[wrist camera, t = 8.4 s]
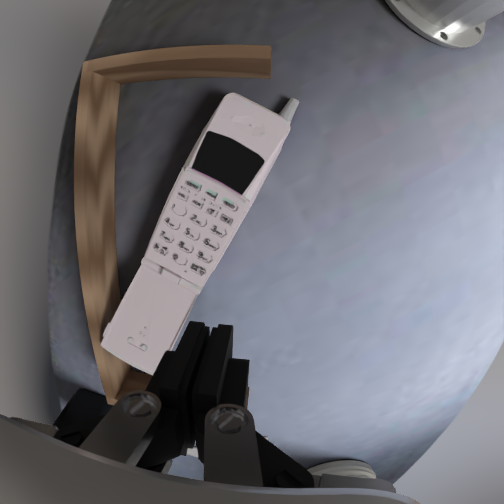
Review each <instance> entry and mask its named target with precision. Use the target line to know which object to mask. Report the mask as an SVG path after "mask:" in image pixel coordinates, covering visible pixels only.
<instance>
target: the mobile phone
mask: <svg viewBox="0 0 504 504" xmlns="http://www.w3.org/2000/svg"><path fill="white" fill-rule="evenodd" d="M298 104H299V101H298V100H296V99H295V98H292V97H291V98H290V100H289V101H288V103H287V104H286V105H285V107H284V108H283V109H282V111H281V112H280V113H279V114H276V113H274V112H272V111H271V110H269V109H267V108H265V107H263V106H261V105H259V104H257V103H255V102H253V101H251V100H249V99H247V98H245V97H243V96H241V95H239V94H237V93H229V94H227V95H226V96H225V97H224V98H223V100H222V101H221V103H220V104H219V106H218V107H217V109H216V110H215V112H214V114H213V115H212V117H211V119H210V120H209V122H208V123H207V125H206V126H205V127H204V129H203V130H202V132H201V135H200V137H199V139H198V140H197V142H196V144H195V146H194V147H193V149H192V151H191V153H190V155H189V157H188V158H187V160H186V162H185V164H184V166H183V168H182V170H181V172H180V174H179V176H178V178H177V180H176V182H175V184H174V186H173V188H172V190H171V192H170V194H169V196H168V199H167V201H166V203H165V206H164V208H163V210H162V213H161V215H160V218H159V220H158V222H157V225H156V227H155V230H154V232H153V235H152V237H151V240H150V242H149V245H148V247H147V250H146V253H145V255H144V258H143V259H142V261H141V266H140V268H139V270H138V272H137V273H136V275H135V277H134V279H133V281H132V283H131V284H130V286H129V288H128V290H127V292H126V294H125V296H124V298H123V299H122V301H121V303H120V305H119V307H118V309H117V311H116V313H115V315H114V317H113V319H112V320H111V323H108V325H107V327H106V329H105V331H104V333H103V337H104V338H103V340H102V343H101V346H102V347H103V348H104V349H106V350H107V351H109V352H110V353H112V354H113V355H115V356H116V357H118V358H119V359H121V360H123V361H124V362H126V363H128V364H130V365H131V366H133V367H135V368H137V369H139V370H142V371H144V372H146V373H148V374H150V375H153V374H154V372H155V370H156V368H157V366H158V364H159V362H160V360H161V358H162V356H163V355H164V353H165V351H167V350H169V351H172V349H173V346H174V344H175V342H176V340H177V338H178V336H179V334H180V332H181V330H182V327H183V325H184V323H185V321H186V319H187V317H188V315H189V313H190V311H191V309H192V307H193V305H194V303H193V302H195V301H194V300H196V299H195V298H197V297H196V296H198V295H199V294H200V292H201V291H202V288H203V287H204V285H205V283H206V281H207V280H208V278H209V276H210V275H211V273H212V272H213V271H214V269H215V268H216V266H217V264H218V263H219V261H220V259H221V258H222V256H223V254H224V252H225V251H226V249H227V247H228V246H229V244H230V242H231V240H232V239H233V237H234V235H235V233H236V232H237V230H238V228H239V226H240V225H241V223H242V221H243V219H244V218H245V216H246V214H247V212H248V211H249V209H250V207H251V205H252V204H253V202H254V200H255V198H256V196H257V194H258V192H259V190H260V188H261V187H262V185H263V183H264V181H265V179H266V177H267V175H268V173H269V171H270V170H271V168H272V166H273V164H274V162H275V160H276V158H277V157H278V155H279V153H280V151H281V149H282V145H283V143H284V141H285V139H286V137H287V135H288V133H289V132H290V129H291V128H290V123H291V120H292V117H293V115H294V113H295V110H296V108H297V106H298ZM192 304H193V305H192ZM191 306H192V307H191ZM190 308H191V309H190Z"/></svg>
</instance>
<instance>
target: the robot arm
mask: <svg viewBox="0 0 504 504" xmlns="http://www.w3.org/2000/svg"><path fill="white" fill-rule="evenodd" d="M385 2H386V3H387V4H388V5H389V7H390V8H391V10H392V11H393V12H394V13H395V14H396V15H397V16H398V17H399V18H400V19H401V20H402V21H403V22H404V23H405V24H407V25H408V26H409V27H410V28H411V29H413V30H414V31H415V32H417V33H418V34H420V35H421V36H422V37H424V38H426V39H428V40H430V41H431V42H433V43H436V44H438V45H441V46H443V47H447V48H451V49H465V48H469V47H471V46H473V45H476V44H477V43H478V42H479V41H480V40H481V39H482V37H483V35H484V31H485V21H486V20H488V19H490V18H492V17H493V16H495V15H497V14H499V13H501V12H503V11H504V0H385ZM232 348H233V325H223V324H219V325H218V328H216V327H213V329H212V332H211V334H210V329H209V327H207V326H205V324H204V322H195V321H190V322H189V324H188V326H187V328H186V330H185V332H184V334H183V336H182V338H181V340H180V342H179V345H178V347H177V349H176V351H169V350H167V351H165V353H164V355H163V356H162V358H161V360H160V362H159V364H158V366H157V368H156V370H155V372H154V374H153V376H152V378H151V380H150V382H149V384H148V386H147V388H146V390H145V391H144V390H135V391H131V392H128V393H126V394H124V395H123V396H122V397H121V398H120V399H119V400H118V401H117V402H116V403H115V405H114V406H113V407H112V408H111V409H110V411H109V412H108V413H107V414H105V415H102V416H99V417H96V418H93V419H89V420H86V421H83V422H79V423H76V424H72V425H69V426H66V427H63V428H61V429H60V430H59V429H58V428H57V426H53V425H48V424H42V423H38V422H34V421H29V420H24V419H21V418H16V417H11V418H9V417H6V416H4V415H1V414H0V504H420V503H419V502H417V501H416V500H414V499H412V498H410V497H407V496H404V495H401V494H398V493H396V490H395V488H394V486H393V485H392V484H391V483H389V482H388V481H386V480H382V479H373V478H359V477H349V476H340V475H332V474H324V473H323V474H322V476H319V475H312V474H311V473H310V472H309V471H308V470H307V469H306V468H304V467H303V466H301V465H300V464H299V463H297V462H296V461H294V460H293V459H292V458H290V457H289V456H288V455H286V454H285V453H284V452H282V451H281V450H280V449H278V448H277V447H276V446H274V445H273V444H272V443H271V442H269V441H268V440H267V439H266V438H264V437H263V436H262V435H261V434H259V433H258V432H257V431H256V430H255V425H254V419H253V416H252V414H251V413H250V412H249V411H248V410H247V409H245V405H246V396H247V386H248V374H249V360H246V359H235V358H232ZM195 440H196V447H197V450H198V459H199V460H200V461H201V462H202V463H203V464H204V481H201V480H195V479H189V478H183V477H178V476H173V475H168V474H167V473H168V471H169V469H170V467H171V465H172V462H173V461H172V459H173V458H175V457H178V456H180V455H184V456H186V454H187V450H188V448H190V449H193V447H194V444H195Z"/></svg>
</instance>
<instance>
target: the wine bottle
mask: <svg viewBox="0 0 504 504" xmlns="http://www.w3.org/2000/svg"><path fill="white" fill-rule="evenodd" d="M113 406H114V405H110V404H108V402H107V399H106V398H105V397H102V396H100V395H97V394H94V393H91V392H89V391H86V390H84V389H79V390H77V391H76V393H75V394H74V395H73V397H72V398H71V399H70V401H69V402H68V403H67V405H66V406H65V407H64V409H63V410H62V412H61V413H60V415H59V416H58V417H57V419H56V420H55V421H54V423H53V424H52V425H53V426H57V428H58V429H59V430H60V429H61V428H63V427H66V426H69V425H72V424H76V423H79V422H83V421H86V420H89V419H93V418H96V417H99V416H102V415H105V414H107V413H108V412H109V411H110V409H111V408H112V407H113Z"/></svg>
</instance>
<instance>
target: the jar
mask: <svg viewBox="0 0 504 504" xmlns="http://www.w3.org/2000/svg"><path fill="white" fill-rule="evenodd" d="M307 470H308V471H309V472H310V473H311V474H312V475H319V476H322V474H323V473H324V474H332V475H340V476H349V477H359V478H373V479H376V476H375V473H374V472H373V470H372V468H371V467H370V466H369V465H368V464H367V463H364V462H361V461H355V460H341V461H333V462H328V463H324V464H320V465H317V466H314V467H312V468H309V469H307Z"/></svg>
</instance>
